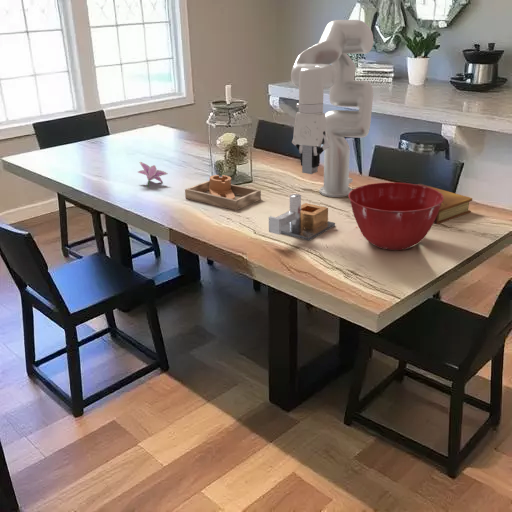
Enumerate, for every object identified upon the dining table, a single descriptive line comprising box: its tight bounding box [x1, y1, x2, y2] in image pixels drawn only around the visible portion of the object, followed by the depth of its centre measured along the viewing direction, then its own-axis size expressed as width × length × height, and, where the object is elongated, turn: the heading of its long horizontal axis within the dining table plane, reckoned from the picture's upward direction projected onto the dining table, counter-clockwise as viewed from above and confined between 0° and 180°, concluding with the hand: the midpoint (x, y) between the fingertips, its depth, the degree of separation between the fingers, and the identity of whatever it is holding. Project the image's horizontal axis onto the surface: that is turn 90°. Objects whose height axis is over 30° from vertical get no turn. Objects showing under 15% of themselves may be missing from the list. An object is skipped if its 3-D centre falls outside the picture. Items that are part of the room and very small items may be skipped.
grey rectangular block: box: [301, 145, 319, 175], centre depth 201 cm, size 4×4×11 cm
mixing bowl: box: [348, 182, 444, 251], centre depth 194 cm, size 28×28×16 cm
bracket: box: [208, 174, 236, 207], centre depth 239 cm, size 18×8×7 cm, turn 11°
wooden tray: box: [184, 179, 262, 211], centre depth 239 cm, size 15×25×4 cm, turn 53°
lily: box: [137, 161, 168, 188], centre depth 257 cm, size 12×12×10 cm
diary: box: [416, 183, 473, 225], centre depth 223 cm, size 23×19×6 cm
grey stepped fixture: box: [268, 193, 336, 242], centre depth 203 cm, size 25×14×13 cm, turn 143°
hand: (310, 165), depth 203 cm, fingers closed on grey rectangular block, 3 cm apart
